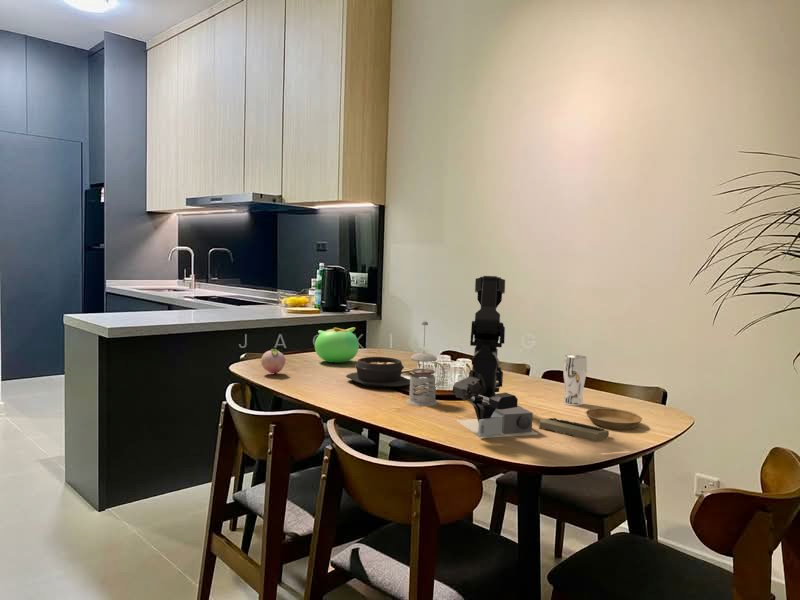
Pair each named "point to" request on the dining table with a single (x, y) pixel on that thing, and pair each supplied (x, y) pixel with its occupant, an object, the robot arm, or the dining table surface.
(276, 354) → the decorative fruit
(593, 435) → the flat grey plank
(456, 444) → the dining table surface
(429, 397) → the french press
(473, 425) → the mat
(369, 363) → the casserole
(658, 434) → the dining table surface
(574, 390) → the beer glass
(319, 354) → the green persimmon
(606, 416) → the plant saucer
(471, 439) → the dining table surface
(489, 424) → the side door
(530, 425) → the camera body
